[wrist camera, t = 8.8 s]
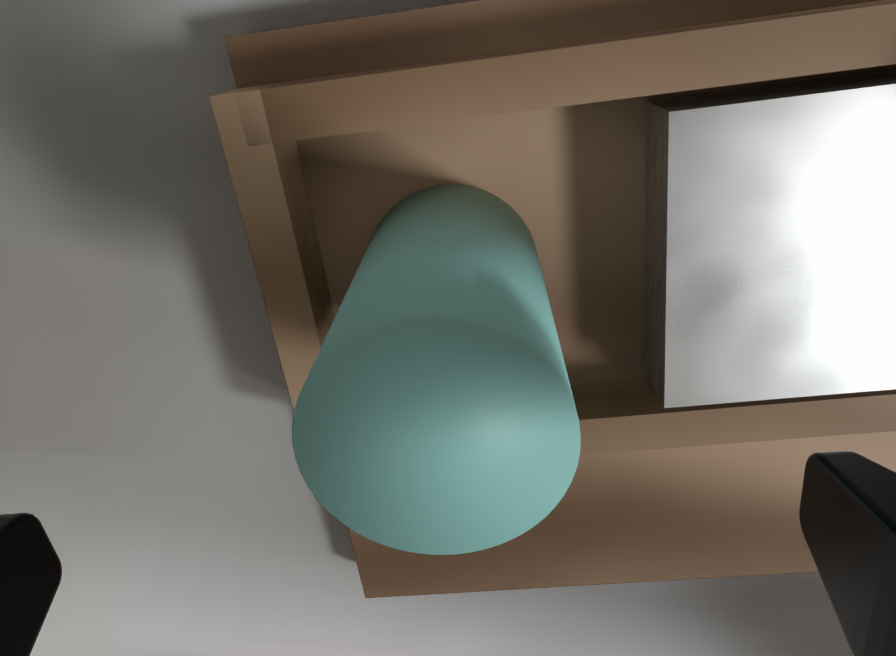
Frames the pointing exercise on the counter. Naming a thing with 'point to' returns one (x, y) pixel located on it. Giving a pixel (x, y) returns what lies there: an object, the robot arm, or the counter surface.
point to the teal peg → (441, 383)
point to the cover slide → (772, 241)
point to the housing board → (548, 248)
